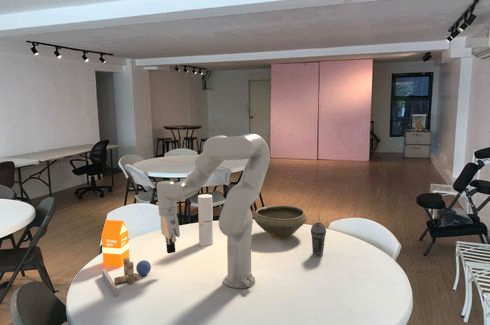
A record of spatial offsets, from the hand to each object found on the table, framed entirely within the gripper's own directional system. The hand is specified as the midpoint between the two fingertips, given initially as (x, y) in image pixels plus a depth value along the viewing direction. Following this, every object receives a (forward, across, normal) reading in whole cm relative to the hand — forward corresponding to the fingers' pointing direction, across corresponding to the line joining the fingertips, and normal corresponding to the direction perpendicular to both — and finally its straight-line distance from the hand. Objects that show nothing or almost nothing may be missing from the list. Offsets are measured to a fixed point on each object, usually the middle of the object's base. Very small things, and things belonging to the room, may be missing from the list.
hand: (171, 252), depth 166 cm
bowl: (+10, +11, -66) cm, 68 cm away
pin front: (+7, +1, +15) cm, 17 cm away
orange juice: (+7, +22, +18) cm, 29 cm away
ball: (+5, +4, +11) cm, 13 cm away
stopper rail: (+8, +1, +26) cm, 27 cm away
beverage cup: (+12, -20, -65) cm, 69 cm away
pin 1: (+8, +4, +18) cm, 20 cm away
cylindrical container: (+9, +22, -27) cm, 36 cm away
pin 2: (+8, -1, +18) cm, 20 cm away
